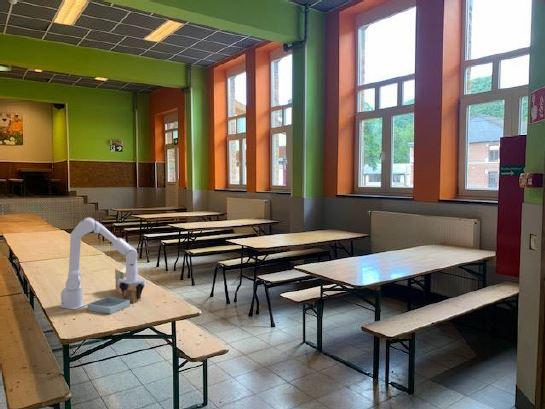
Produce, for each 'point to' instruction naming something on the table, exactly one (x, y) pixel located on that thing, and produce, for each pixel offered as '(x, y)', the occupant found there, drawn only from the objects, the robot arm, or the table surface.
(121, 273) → the stack of blocks
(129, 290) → the walnut block
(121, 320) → the table surface
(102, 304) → the tray
